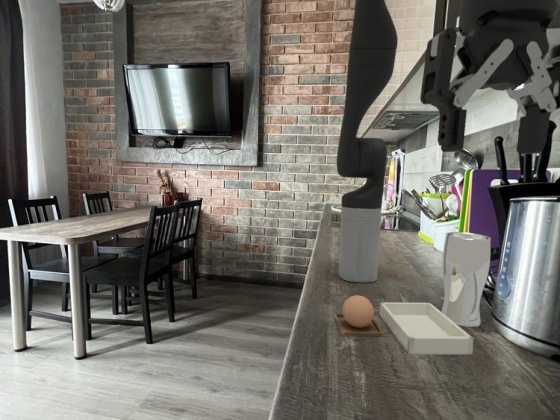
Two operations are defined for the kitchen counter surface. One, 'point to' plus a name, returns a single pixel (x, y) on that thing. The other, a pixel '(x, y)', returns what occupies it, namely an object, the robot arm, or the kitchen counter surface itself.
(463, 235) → the beer glass
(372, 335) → the holder
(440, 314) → the tray
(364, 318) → the egg
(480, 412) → the kitchen counter surface
